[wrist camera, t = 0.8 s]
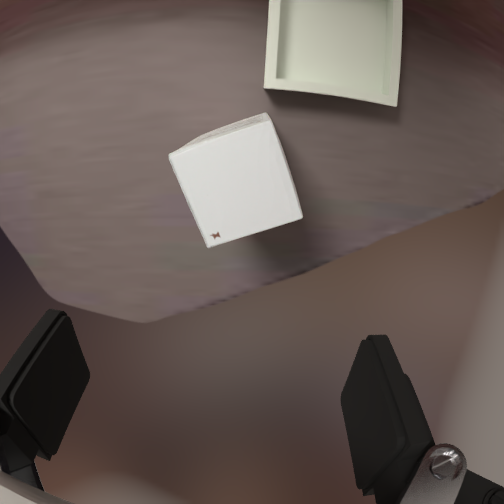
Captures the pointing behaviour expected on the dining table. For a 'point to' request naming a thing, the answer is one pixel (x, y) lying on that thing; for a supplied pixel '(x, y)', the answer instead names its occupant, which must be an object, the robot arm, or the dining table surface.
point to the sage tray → (335, 48)
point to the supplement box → (237, 180)
